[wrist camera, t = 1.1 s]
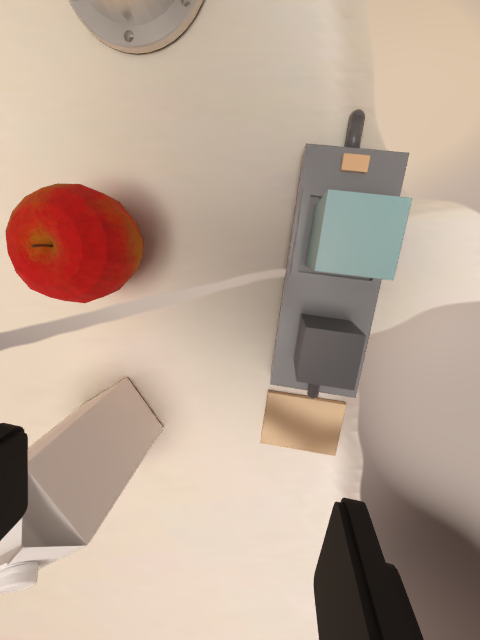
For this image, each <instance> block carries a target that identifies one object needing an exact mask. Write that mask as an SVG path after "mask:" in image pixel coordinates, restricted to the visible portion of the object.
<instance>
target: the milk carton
mask: <svg viewBox="0 0 480 640" xmlns="http://www.w3.org/2000/svg"><path fill="white" fill-rule="evenodd" d="M162 429H163V427H162V425H161V424H160V422H159V421H158V420H157V418H156V417H155V415H154V414H153V413H152V411H151V410H150V408H149V407H148V406H147V404H146V403H145V401H144V400H143V399H142V397H141V396H140V394H139V393H138V392H137V390H136V389H135V387H134V386H133V385H132V383H131V382H130V381H129V379H128V378H125V379H123V380H122V381H120V382H118V383H117V384H115V385H113V386H112V387H110V388H109V389H107V390H105V391H104V392H102V393H100V394H99V395H97V396H96V397H94V398H92V399H91V400H89V401H88V402H86V403H84V404H83V405H81V406H80V407H79V408H78V409H76V410H75V411H74V412H73V413H71V414H70V415H69V416H68V417H66V418H65V419H64V420H63V421H61V422H60V423H59V424H58V425H56V426H55V427H54V428H53V429H51V430H50V431H49V432H48V433H46V434H45V435H44V436H43V437H41V438H40V439H39V440H38V441H36V442H35V443H34V444H33V445H31V446H30V447H29V448H28V507H27V510H26V512H25V514H24V516H23V517H22V518H21V520H20V521H19V522H18V523H17V524H16V525H15V526H14V527H13V528H12V529H11V530H10V531H9V532H8V533H7V534H6V535H5V537H4V538H3V539H2V540H1V541H0V594H4V593H12V592H17V591H21V590H24V589H27V588H29V587H31V586H33V585H35V584H36V583H37V578H38V570H39V569H40V568H42V567H44V566H46V565H48V564H50V563H52V562H54V561H57V560H59V559H61V558H63V557H65V556H67V555H69V554H71V553H73V552H75V551H77V550H79V549H81V548H83V547H85V546H87V545H88V543H89V542H90V541H91V539H92V538H93V536H94V535H95V533H96V532H97V530H98V529H99V527H100V525H101V524H102V522H103V521H104V519H105V518H106V516H107V515H108V513H109V511H110V510H111V508H112V507H113V505H114V504H115V502H116V501H117V499H118V497H119V496H120V494H121V493H122V491H123V490H124V488H125V486H126V485H127V483H128V482H129V480H130V479H131V477H132V476H133V474H134V472H135V471H136V469H137V468H138V466H139V465H140V463H141V462H142V460H143V458H144V457H145V455H146V454H147V452H148V451H149V449H150V448H151V446H152V444H153V443H154V441H155V440H156V438H157V437H158V435H159V433H160V432H161V430H162Z"/></svg>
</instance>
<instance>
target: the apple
mask: <svg viewBox="0 0 480 640" xmlns="http://www.w3.org/2000/svg"><path fill="white" fill-rule="evenodd" d="M6 240H7V249H8V254H9V256H10V259H11V261H12V264H13V266H14V268H15V271H16V273H17V274H18V275H19V276H20V277H21V279H22V280H23V281H24V282H25V283H26V284H27V285H28V287H29V288H30V289H32V290H34V291H37V292H39V293H41V294H44V295H46V296H48V297H51V298H55V299H59V300H63V301H71V302H80V303H87V302H89V301H92V300H95V299H98V298H101V297H104V296H106V295H109V294H111V293H113V292H115V291H118V290H119V289H120V288H121V287H122V286H123V285H124V284H125V283H126V282H127V281H128V280H129V279H130V278H131V276H132V275H133V274H134V272H135V271H136V270H137V269H138V267H139V265H140V262H141V259H142V256H143V238H142V235H141V233H140V230H139V228H138V226H137V224H136V223H135V221H134V220H133V218H132V217H131V216H130V215H129V213H128V212H127V211H126V210H125V208H124V207H123V206H122V205H121V203H120V202H118V201H116V200H114V199H113V198H111V197H109V196H107V195H105V194H103V193H101V192H98V191H96V190H93V189H91V188H88V187H86V186H83V185H81V184H55V185H51V186H47V187H43V188H41V189H39V190H37V191H35V192H33V193H31V194H29V195H28V196H26V197H25V198H24V199H23V200H22V201H21V202H20V203H19V204H18V205H17V207H16V208H15V209H14V210H13V211H12V214H11V216H10V219H9V222H8V225H7V228H6Z"/></svg>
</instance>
